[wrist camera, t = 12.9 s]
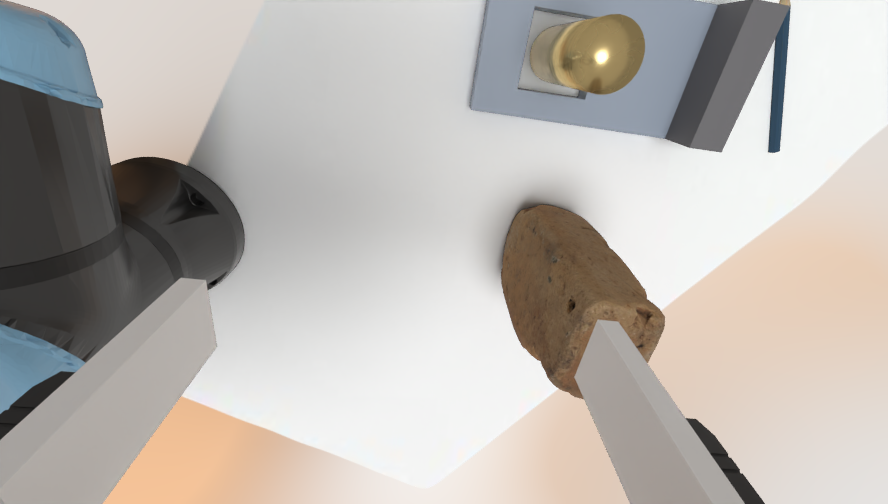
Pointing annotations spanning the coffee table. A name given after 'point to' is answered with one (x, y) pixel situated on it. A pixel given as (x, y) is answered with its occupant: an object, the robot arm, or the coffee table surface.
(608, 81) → the brass cylinder rod
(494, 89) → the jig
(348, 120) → the coffee table surface
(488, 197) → the coffee table surface
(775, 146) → the pencil
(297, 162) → the coffee table surface
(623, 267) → the block
